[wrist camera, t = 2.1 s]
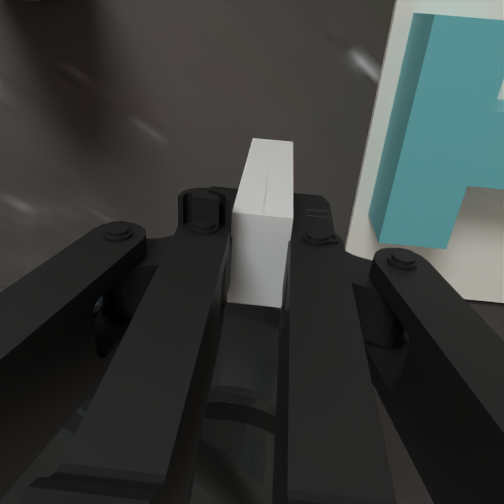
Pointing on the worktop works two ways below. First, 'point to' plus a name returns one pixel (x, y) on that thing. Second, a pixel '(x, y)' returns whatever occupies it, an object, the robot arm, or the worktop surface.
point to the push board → (476, 198)
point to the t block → (441, 129)
